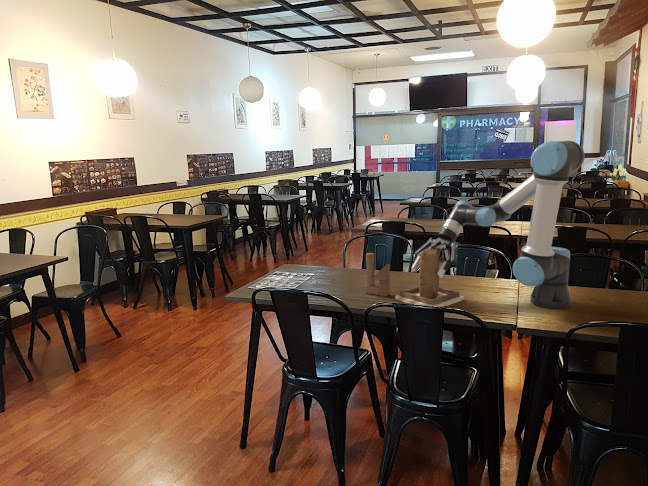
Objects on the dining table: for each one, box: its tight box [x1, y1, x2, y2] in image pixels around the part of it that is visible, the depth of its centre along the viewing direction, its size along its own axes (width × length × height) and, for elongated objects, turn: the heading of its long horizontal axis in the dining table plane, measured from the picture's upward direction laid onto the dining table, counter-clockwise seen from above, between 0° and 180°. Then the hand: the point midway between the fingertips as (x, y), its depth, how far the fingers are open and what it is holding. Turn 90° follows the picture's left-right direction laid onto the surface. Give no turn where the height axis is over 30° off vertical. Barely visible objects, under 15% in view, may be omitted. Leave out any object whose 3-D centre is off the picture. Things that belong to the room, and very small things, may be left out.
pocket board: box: [395, 285, 465, 308], centre depth 206 cm, size 20×20×4 cm
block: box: [418, 249, 440, 299], centre depth 205 cm, size 11×8×20 cm
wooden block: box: [364, 252, 391, 297], centre depth 215 cm, size 4×11×18 cm, turn 56°
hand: (426, 272), depth 203 cm, fingers open, 13 cm apart
